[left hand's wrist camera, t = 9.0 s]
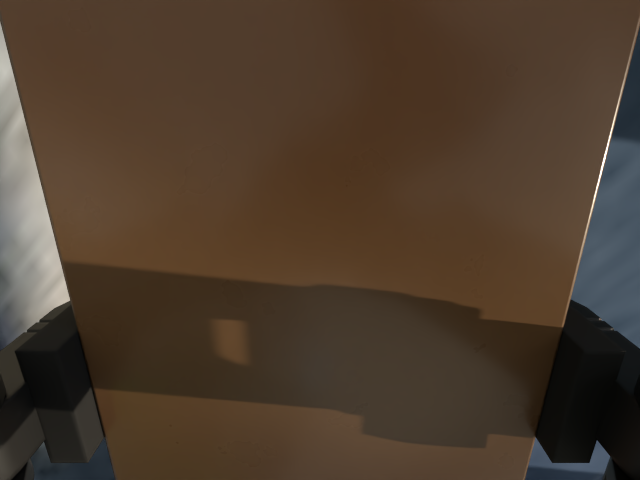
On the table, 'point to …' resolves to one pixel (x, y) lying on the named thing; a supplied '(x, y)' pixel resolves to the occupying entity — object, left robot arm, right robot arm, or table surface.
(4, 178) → the table surface
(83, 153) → the wide beam
